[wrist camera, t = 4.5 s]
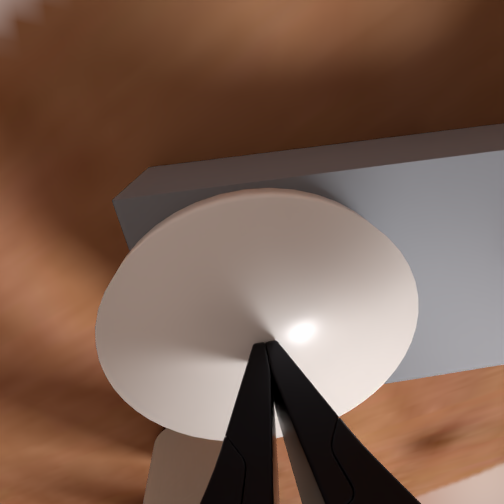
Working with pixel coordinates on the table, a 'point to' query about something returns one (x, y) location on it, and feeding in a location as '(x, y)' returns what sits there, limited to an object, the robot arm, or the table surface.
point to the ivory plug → (253, 306)
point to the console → (384, 223)
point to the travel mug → (180, 468)
